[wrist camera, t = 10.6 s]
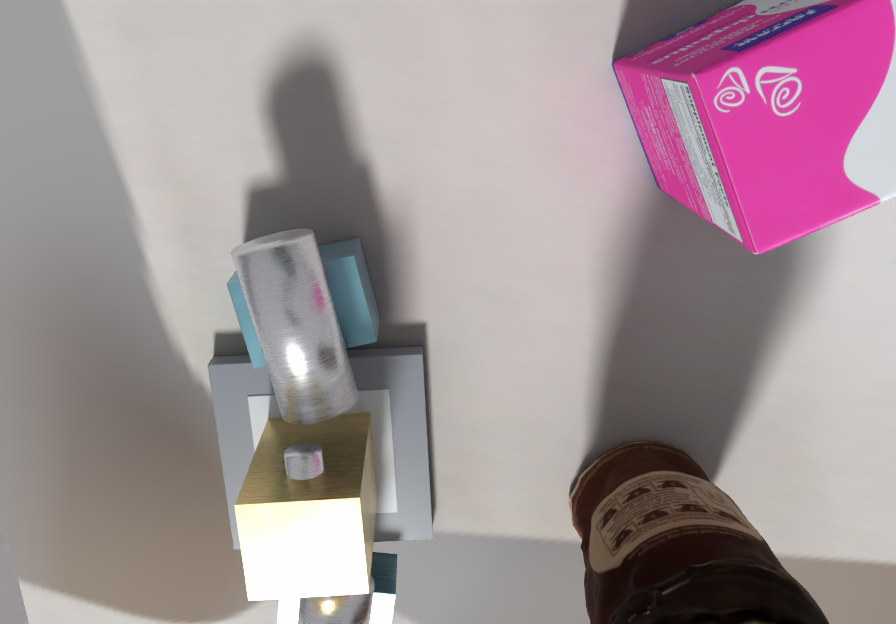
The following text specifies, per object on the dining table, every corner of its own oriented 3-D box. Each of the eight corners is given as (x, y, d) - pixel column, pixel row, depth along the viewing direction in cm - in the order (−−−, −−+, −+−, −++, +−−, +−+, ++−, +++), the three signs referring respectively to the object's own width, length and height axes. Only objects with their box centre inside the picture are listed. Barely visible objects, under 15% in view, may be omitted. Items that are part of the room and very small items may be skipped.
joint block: (265, 400, 37) (231, 485, 30) (369, 395, 37) (357, 477, 30) (280, 515, 38) (251, 618, 32) (379, 509, 38) (370, 611, 32)
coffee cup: (527, 437, 39) (577, 631, 26) (709, 390, 38) (845, 566, 26) (569, 593, 41) (631, 836, 29) (738, 552, 41) (875, 781, 29)
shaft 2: (292, 516, 40) (271, 599, 34) (400, 526, 40) (397, 610, 34) (282, 634, 42) (260, 730, 36) (385, 643, 42) (379, 740, 36)
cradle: (213, 356, 37) (207, 365, 36) (422, 345, 37) (422, 354, 36) (238, 536, 40) (233, 550, 39) (432, 526, 40) (432, 539, 39)
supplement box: (745, -10, 33) (904, -25, 22) (790, 133, 35) (958, 184, 24) (604, 56, 33) (691, 73, 23) (655, 193, 35) (759, 269, 24)
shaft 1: (231, 228, 35) (194, 268, 30) (349, 201, 35) (336, 236, 29) (276, 373, 37) (250, 436, 32) (388, 349, 37) (382, 408, 31)
